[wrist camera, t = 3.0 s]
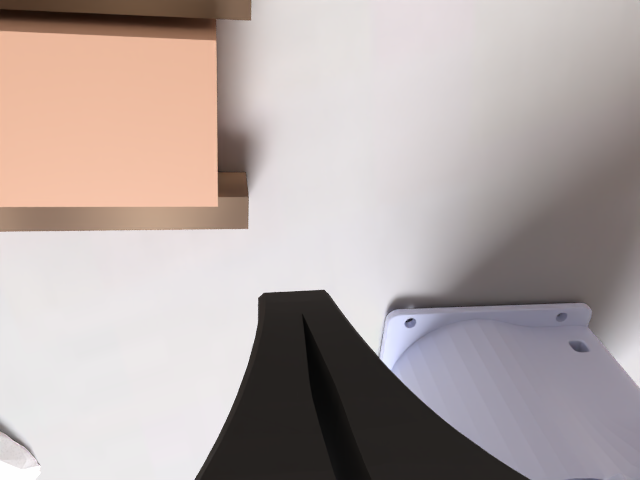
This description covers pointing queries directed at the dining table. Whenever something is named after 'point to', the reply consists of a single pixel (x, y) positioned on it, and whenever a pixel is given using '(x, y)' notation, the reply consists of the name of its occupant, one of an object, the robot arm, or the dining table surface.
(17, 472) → the cloth
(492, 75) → the dining table surface
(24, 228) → the building blocks
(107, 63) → the terracotta block
